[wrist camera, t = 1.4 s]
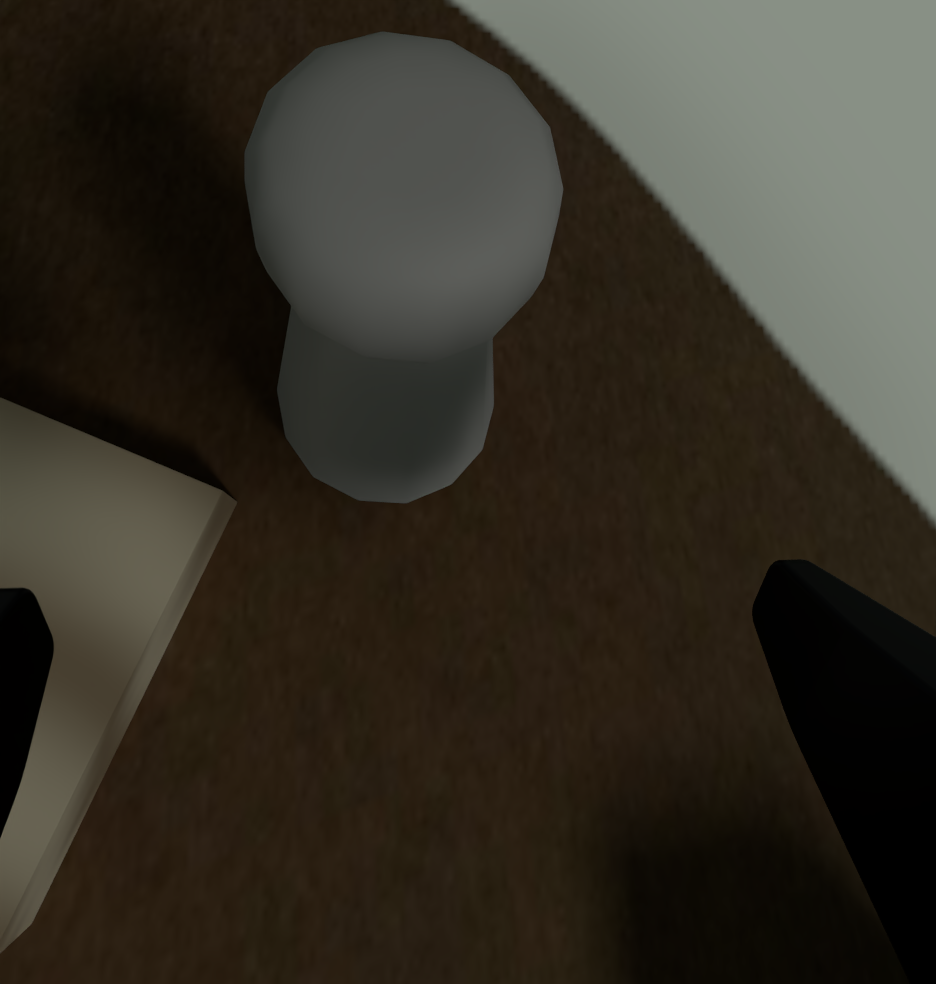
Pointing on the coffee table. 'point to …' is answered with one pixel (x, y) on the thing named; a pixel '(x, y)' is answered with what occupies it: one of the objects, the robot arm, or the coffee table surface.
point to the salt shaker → (397, 252)
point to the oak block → (88, 617)
